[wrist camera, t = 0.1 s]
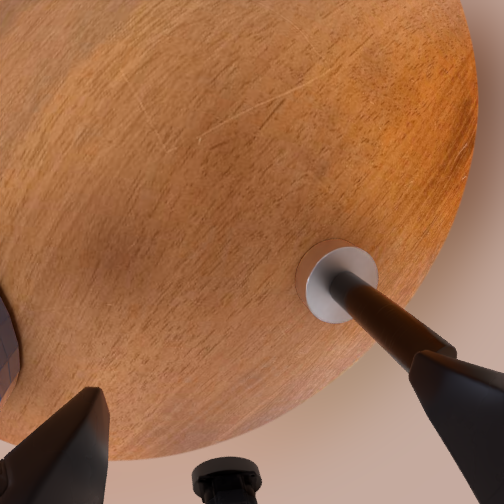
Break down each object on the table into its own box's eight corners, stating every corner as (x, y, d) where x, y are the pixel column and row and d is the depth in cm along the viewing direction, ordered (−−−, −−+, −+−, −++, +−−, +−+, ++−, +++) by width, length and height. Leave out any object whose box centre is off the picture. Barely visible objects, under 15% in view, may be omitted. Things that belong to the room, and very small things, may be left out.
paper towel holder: (358, 306, 22) (458, 398, 11) (292, 313, 21) (374, 430, 10) (367, 238, 20) (493, 301, 10) (297, 239, 19) (407, 321, 9)
